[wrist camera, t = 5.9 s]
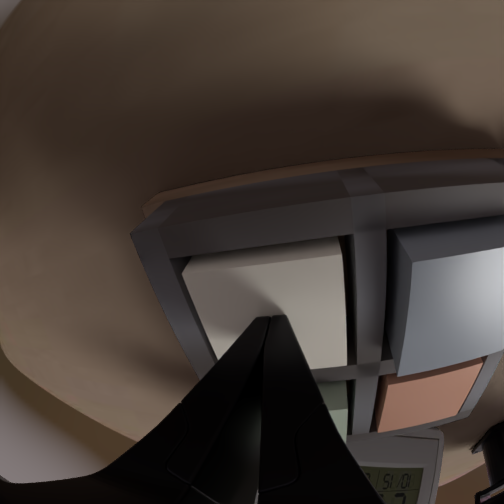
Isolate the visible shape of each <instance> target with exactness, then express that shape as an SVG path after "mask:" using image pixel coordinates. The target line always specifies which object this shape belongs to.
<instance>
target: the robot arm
mask: <svg viewBox="0 0 504 504" xmlns="http://www.w3.org/2000/svg"><path fill="white" fill-rule="evenodd" d="M181 403H182V404H181ZM181 403H179V404H178V405H177V406H176V407H175V408H174V409H173V410H172V411H171V412H170V413H169V414H168V415H167V416H166V417H165V418H164V419H163V420H162V421H161V422H160V423H159V424H158V425H157V426H156V427H155V428H154V429H153V430H151V431H150V432H149V433H148V434H147V435H146V436H145V437H143V438H142V439H141V440H140V441H139V442H137V443H136V444H135V445H134V446H132V447H131V448H130V449H129V450H127V451H126V452H125V453H124V454H122V455H121V456H120V457H119V458H117V459H116V460H115V461H114V462H112V463H111V464H109V465H108V466H107V467H105V468H104V469H102V470H100V471H98V472H96V473H94V474H91V475H87V476H83V477H77V478H70V479H63V480H55V481H47V482H36V483H11V482H9V481H8V480H6V479H5V478H3V477H2V476H0V504H254V503H255V499H256V494H257V489H258V493H259V495H258V503H257V504H386V502H385V501H384V500H383V499H382V497H381V496H380V495H379V493H378V492H377V491H376V489H375V488H374V486H373V485H372V483H371V482H370V480H369V479H368V477H367V476H366V474H365V473H364V471H363V470H362V468H361V467H360V465H359V464H358V462H357V461H356V459H355V458H354V456H353V455H352V453H351V452H350V450H349V449H348V447H347V445H346V444H345V442H344V440H343V439H342V437H341V435H340V433H339V432H338V430H337V428H336V425H335V423H334V421H333V419H332V417H331V415H330V413H329V410H328V408H327V406H326V404H325V402H324V399H323V397H322V395H321V392H320V390H319V388H318V385H317V383H316V381H315V379H314V376H313V374H312V372H311V369H310V367H309V365H308V363H307V360H306V358H305V356H304V353H303V351H302V349H301V347H300V344H299V342H298V340H297V337H296V335H295V333H294V331H293V328H292V326H291V324H290V321H289V319H288V317H287V315H285V314H283V315H273V316H272V317H270V316H260V317H256V318H255V319H254V320H253V321H252V322H251V323H250V324H249V326H248V327H247V328H246V329H245V330H244V331H243V333H242V334H241V335H240V336H239V337H238V338H237V339H236V341H235V342H234V343H233V344H232V345H231V346H230V347H229V349H228V350H227V351H226V352H225V353H224V354H223V355H222V357H221V358H220V359H219V360H218V361H217V362H216V363H215V364H214V366H213V367H212V368H211V369H210V370H209V371H208V372H207V373H206V374H205V376H204V377H203V378H202V379H201V380H200V381H199V382H198V383H197V384H196V385H195V387H194V388H193V389H192V390H191V391H190V392H189V393H188V394H187V395H186V396H185V397H184V398H183V400H182V401H181ZM481 451H483V454H484V458H485V463H486V467H487V472H488V478H489V483H490V487H489V488H487V489H485V490H483V491H479V492H477V493H476V495H475V504H504V491H503V492H501V493H499V494H497V495H495V496H493V497H490V495H491V494H493V493H495V492H497V491H499V490H500V489H502V488H504V423H502V424H499V425H497V426H494V427H493V428H491V429H490V430H489V431H488V432H487V434H486V435H485V436H484V437H483V438H482V440H481V441H480V442H479V443H478V444H477V445H476V447H475V448H474V449H473V450H472V451H471V452H472V454H475V453H478V452H481Z"/></svg>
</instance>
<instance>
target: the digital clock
mask: <svg viewBox="0 0 504 504" xmlns="http://www.w3.org/2000/svg"><path fill="white" fill-rule="evenodd" d="M346 445H347V447H348V449H349V450H350V452H351V453H352V455H353V456H354V458H355V459H356V461H357V462H358V464H359V465H360V467H361V468H362V470H363V471H364V473H365V474H366V476H367V477H368V479H369V480H370V482H371V483H372V485H373V486H374V488H375V489H376V491H377V492H378V493H379V495H380V496H381V497H382V499H383V500H384V501H385V502H386V504H435V499H436V494H437V488H438V483H439V478H440V471H441V464H442V457H443V449H444V435H443V432H442V431H441V430H439V429H438V428H436V427H431V428H427V429H423V430H419V431H414V432H410V433H405V434H400V435H395V436H389V437H384V438H378V439H371V440H364V441H356V442H348V443H346ZM258 495H259V493H258V489H257V494H256V499H255V503H254V504H257V503H258Z"/></svg>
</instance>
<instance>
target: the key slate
mask: <svg viewBox="0 0 504 504" xmlns="http://www.w3.org/2000/svg"><path fill="white" fill-rule="evenodd" d="M385 330H386V334H387V337H388V341H389V345H390V349H391V353H392V357H393V361H394V365H395V369H396V373H397V377H399V376H405V375H410V374H415V373H420V372H424V371H429V370H433V369H438V368H442V367H446V366H450V365H454V364H458V363H461V362H465V361H469V360H472V359H476V358H479V357H482V356H485V355H489V354H492V353H495V352H498V351H501V350H503V349H504V215H496V216H488V217H480V218H472V219H464V220H456V221H449V222H441V223H433V224H425V225H417V226H409V227H402V228H394V229H388V282H387V304H386V320H385Z"/></svg>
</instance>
